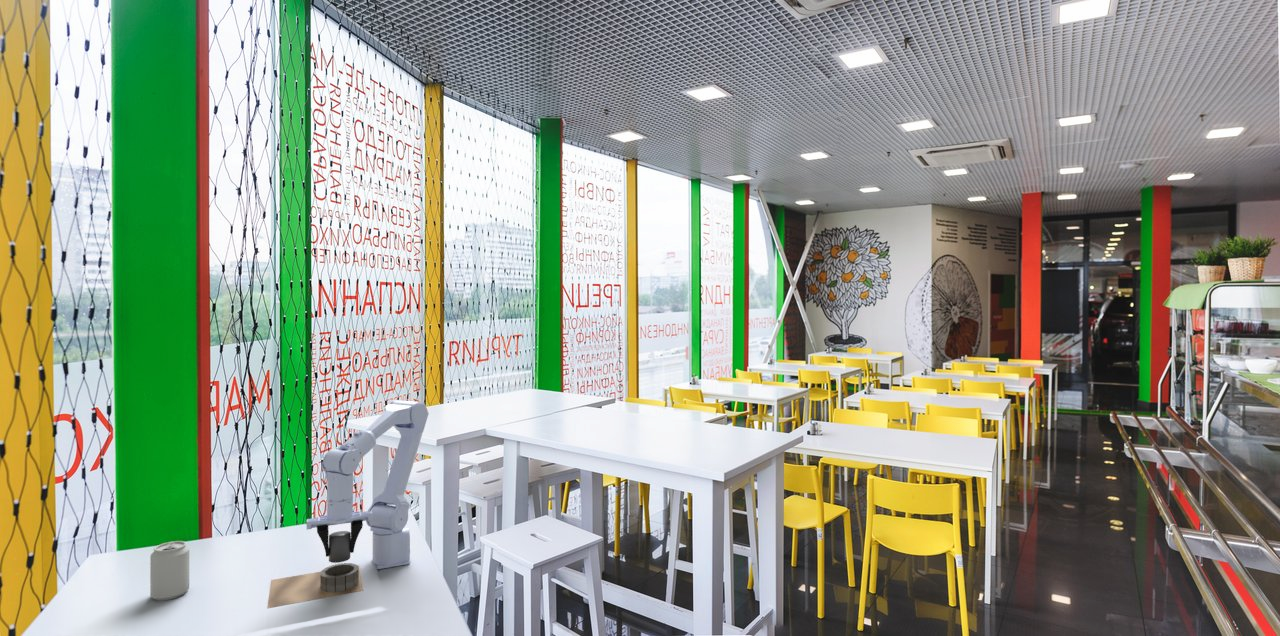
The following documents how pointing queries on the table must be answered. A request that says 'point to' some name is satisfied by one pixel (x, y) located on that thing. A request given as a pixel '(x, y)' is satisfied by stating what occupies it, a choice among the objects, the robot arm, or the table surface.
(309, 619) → the table surface
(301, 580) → the barrel mount
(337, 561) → the dark gray cylinder
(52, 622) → the table surface
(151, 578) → the can
